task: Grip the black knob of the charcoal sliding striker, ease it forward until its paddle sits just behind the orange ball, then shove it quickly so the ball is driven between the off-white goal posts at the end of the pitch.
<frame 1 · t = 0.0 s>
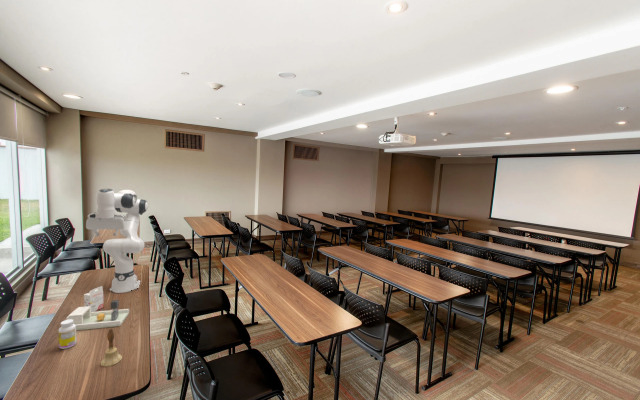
hand: (106, 236, 173), 48 cm above the table, fingers open, 8 cm apart
pitch: (98, 321, 161), on the table
striker: (114, 309, 163), point 7 cm above the table, slide at 0.0 cm
supplement bottle: (67, 345, 139), on the table
ink cartridge box: (94, 310, 174), on the table
hand bell: (111, 361, 130), on the table
ball: (100, 316, 161), point 3 cm above the table, touching pitch
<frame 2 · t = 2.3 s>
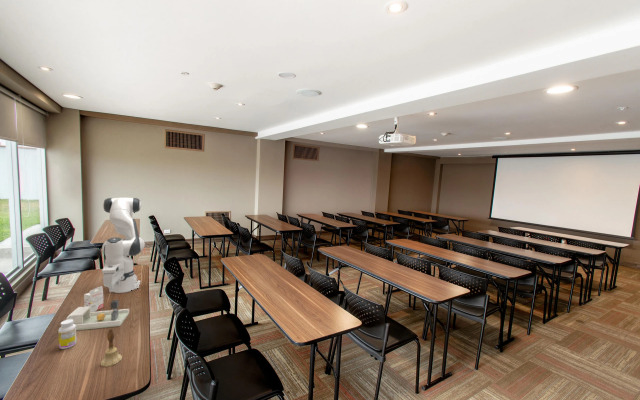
hand: (114, 288, 162), 20 cm above the table, fingers open, 8 cm apart
nothing on the table moved.
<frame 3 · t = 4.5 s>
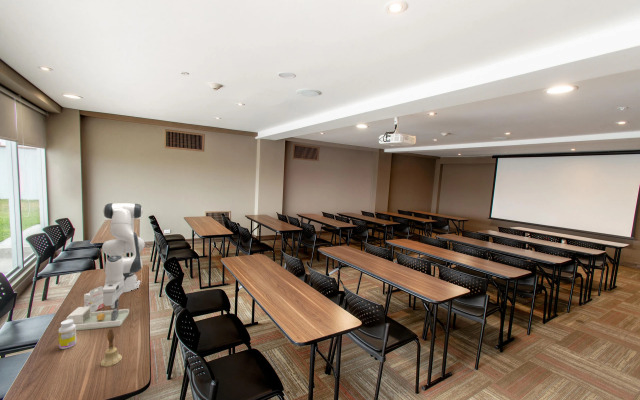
hand: (114, 305, 163), 9 cm above the table, fingers closed on striker, 3 cm apart
striker: (114, 309, 163), point 7 cm above the table, slide at 0.0 cm, touching gripper
everything else where it was.
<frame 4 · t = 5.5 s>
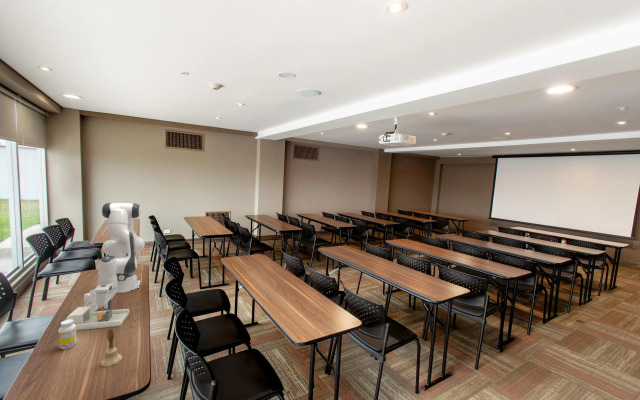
hand: (108, 306, 162), 9 cm above the table, fingers closed on striker, 3 cm apart
striker: (108, 310, 162), point 7 cm above the table, slide at 3.4 cm, touching gripper
everything else where it was.
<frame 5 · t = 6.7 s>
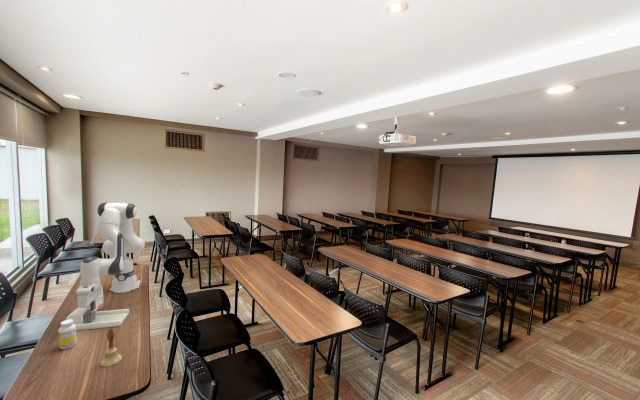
hand: (90, 307, 159), 9 cm above the table, fingers closed on striker, 3 cm apart
striker: (91, 311, 160), point 7 cm above the table, slide at 11.7 cm, touching gripper
ball: (78, 318, 158), point 3 cm above the table, tilted 55°, touching pitch
everything else where it was.
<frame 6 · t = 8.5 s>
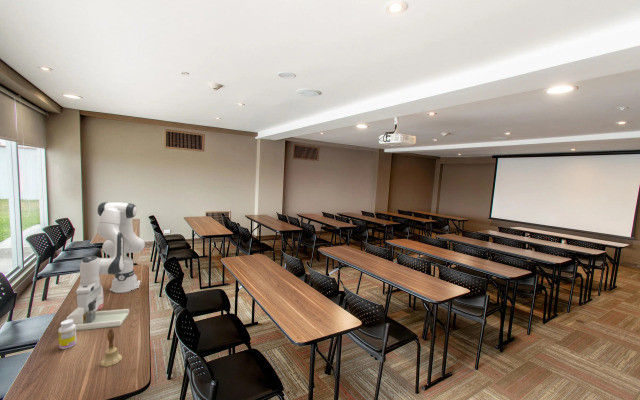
hand: (90, 307, 159), 9 cm above the table, fingers open, 8 cm apart
striker: (91, 311, 160), point 7 cm above the table, slide at 11.7 cm
ball: (81, 318, 158), point 3 cm above the table, tilted 97°, touching pitch
everything else where it was.
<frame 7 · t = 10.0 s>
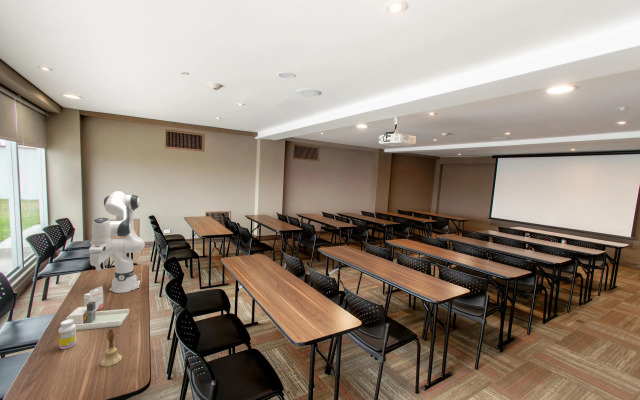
hand: (102, 267, 164), 31 cm above the table, fingers open, 8 cm apart
ball: (84, 318, 159), point 3 cm above the table, tilted 133°, touching pitch
everything else where it was.
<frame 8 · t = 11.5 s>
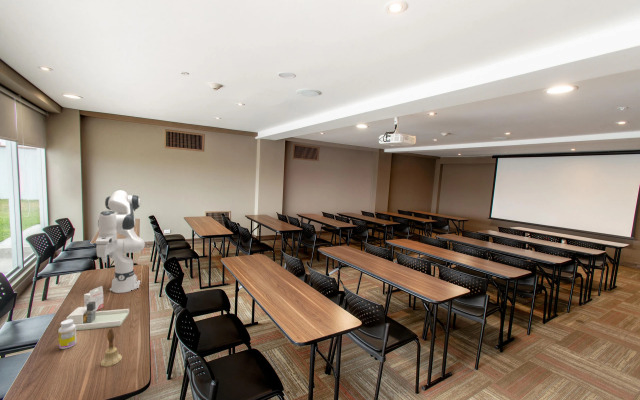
hand: (108, 260, 166), 35 cm above the table, fingers open, 8 cm apart
ball: (84, 318, 159), point 3 cm above the table, tilted 139°, touching pitch
everything else where it was.
at the end: ball inside the target area (1.8 cm from its centre), point 3.0 cm above the table; striker slide at 11.7 cm; the gripper is holding nothing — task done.
